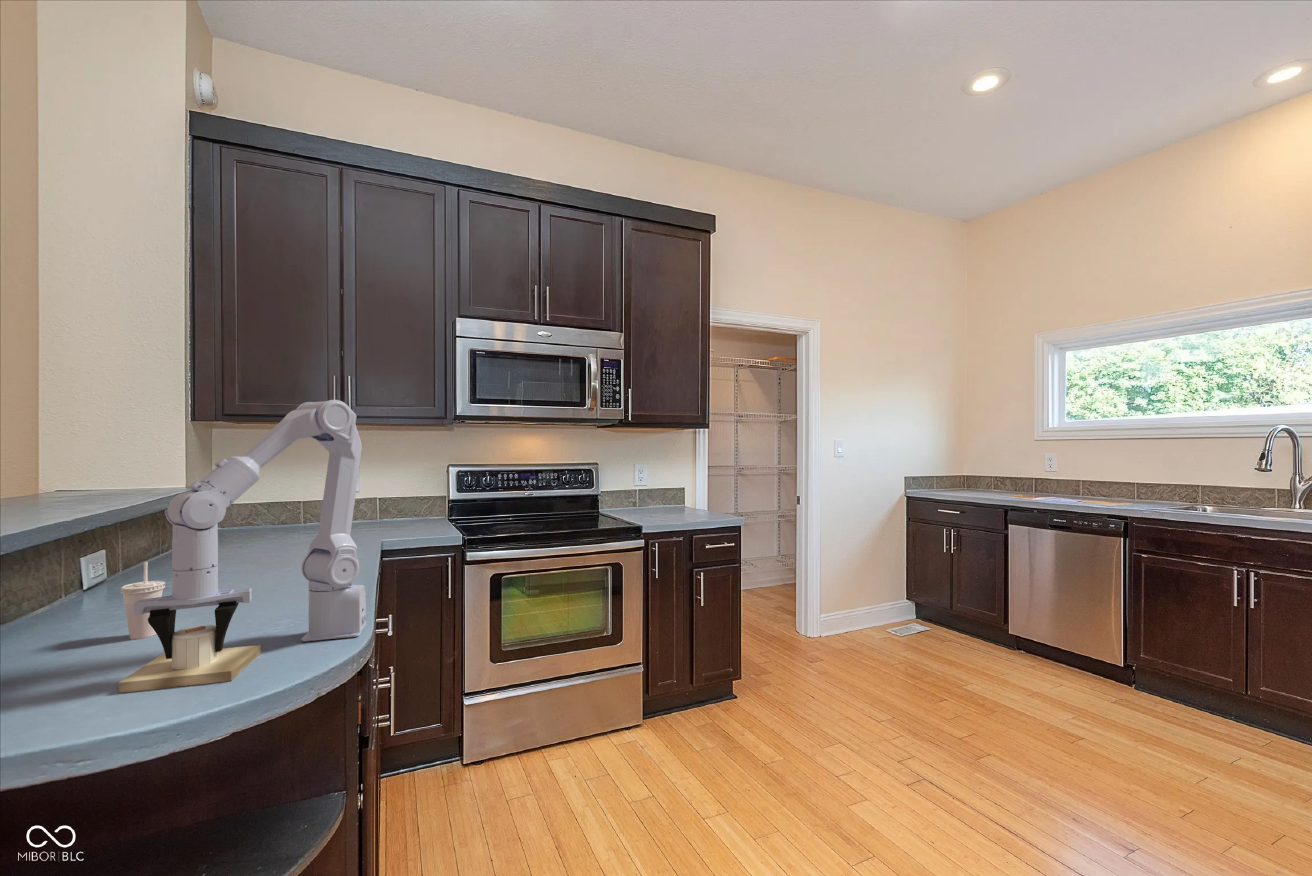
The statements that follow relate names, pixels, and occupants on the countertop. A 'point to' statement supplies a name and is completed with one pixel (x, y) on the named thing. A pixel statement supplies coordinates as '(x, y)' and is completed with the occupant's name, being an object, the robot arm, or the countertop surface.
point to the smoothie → (140, 591)
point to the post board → (190, 671)
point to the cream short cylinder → (194, 647)
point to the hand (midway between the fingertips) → (195, 653)
